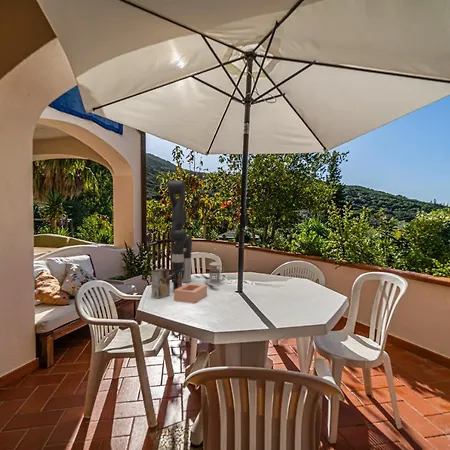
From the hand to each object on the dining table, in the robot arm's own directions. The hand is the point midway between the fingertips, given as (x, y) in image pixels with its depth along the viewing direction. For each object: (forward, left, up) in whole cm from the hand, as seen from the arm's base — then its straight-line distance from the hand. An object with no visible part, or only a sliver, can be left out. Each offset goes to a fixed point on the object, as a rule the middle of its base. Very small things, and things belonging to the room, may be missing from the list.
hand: (177, 287), depth 201 cm
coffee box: (+14, -4, -3) cm, 15 cm away
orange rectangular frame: (+10, +14, -2) cm, 17 cm away
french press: (-29, +15, -3) cm, 33 cm away
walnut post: (0, 0, -2) cm, 2 cm away
